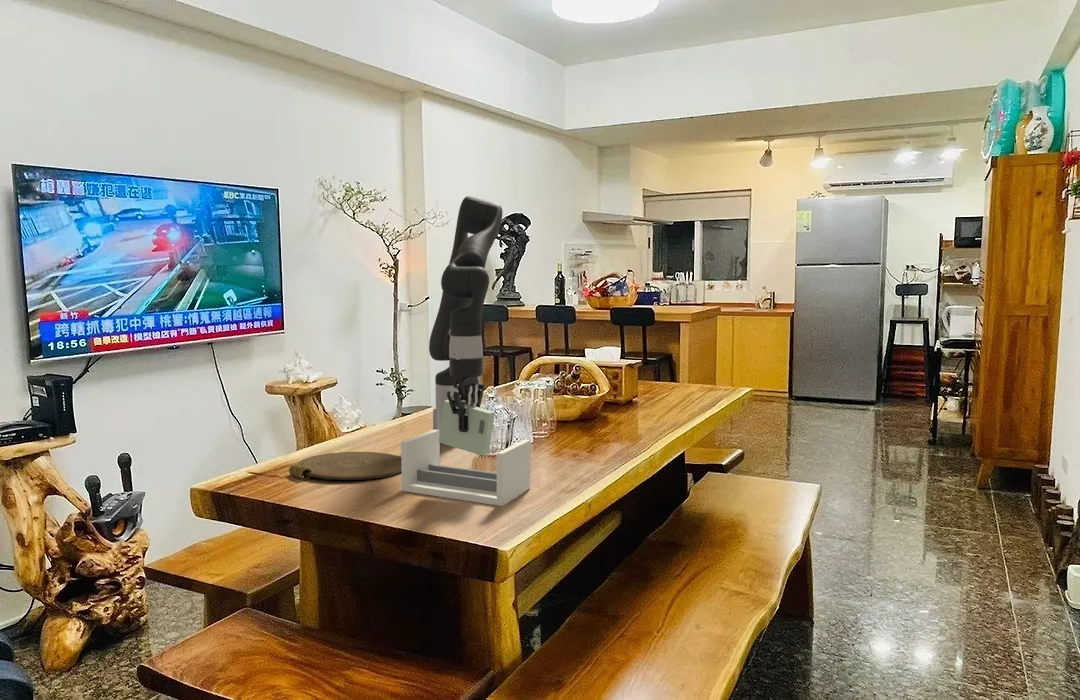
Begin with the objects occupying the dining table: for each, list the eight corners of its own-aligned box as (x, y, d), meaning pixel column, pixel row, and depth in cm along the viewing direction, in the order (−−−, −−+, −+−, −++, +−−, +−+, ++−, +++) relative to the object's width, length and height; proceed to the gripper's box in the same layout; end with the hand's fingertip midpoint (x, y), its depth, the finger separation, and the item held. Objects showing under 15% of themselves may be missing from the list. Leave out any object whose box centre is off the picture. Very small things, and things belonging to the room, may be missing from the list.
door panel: (438, 442, 172) (443, 401, 170) (443, 440, 174) (449, 399, 173) (483, 456, 167) (489, 413, 166) (488, 453, 170) (494, 411, 168)
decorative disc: (433, 460, 191) (330, 479, 169) (433, 473, 191) (330, 493, 169) (368, 442, 210) (268, 457, 188) (368, 454, 211) (268, 470, 189)
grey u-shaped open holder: (401, 490, 171) (401, 441, 169) (434, 475, 183) (434, 429, 182) (502, 506, 160) (502, 453, 159) (530, 488, 173) (530, 440, 171)
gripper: (466, 351, 176) (467, 423, 178) (435, 357, 164) (436, 435, 165) (495, 352, 173) (495, 426, 175) (465, 359, 160) (465, 438, 162)
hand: (466, 430), depth 170 cm, fingers closed on door panel, 2 cm apart
